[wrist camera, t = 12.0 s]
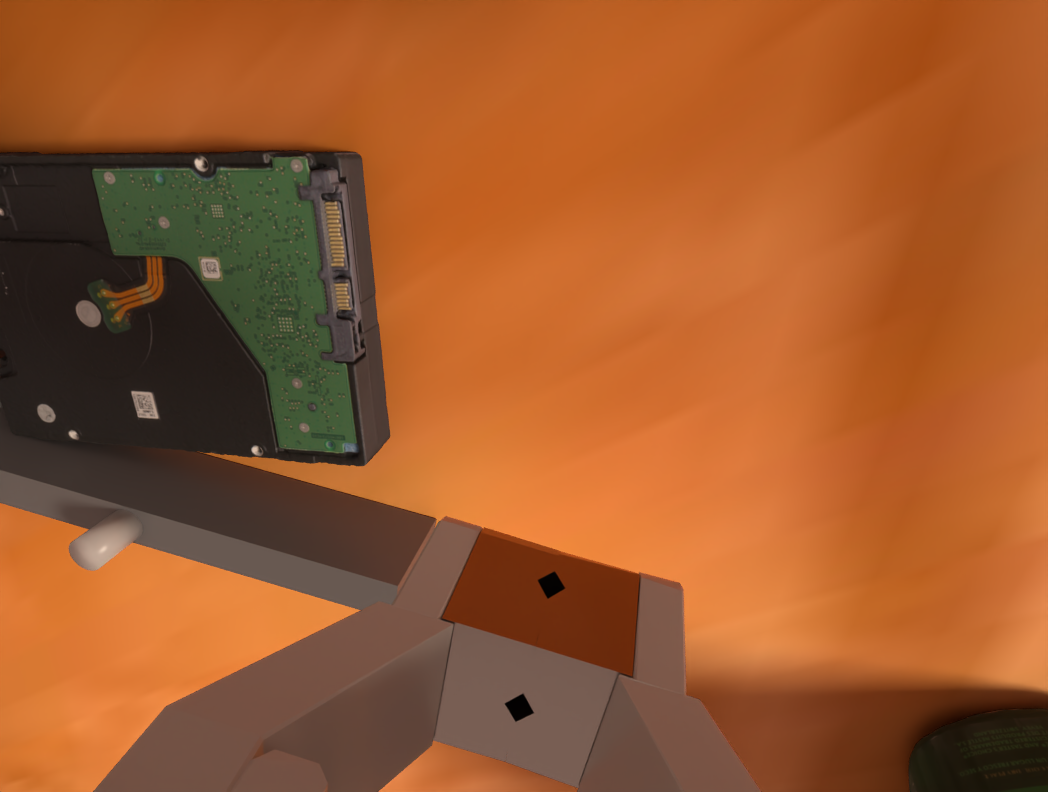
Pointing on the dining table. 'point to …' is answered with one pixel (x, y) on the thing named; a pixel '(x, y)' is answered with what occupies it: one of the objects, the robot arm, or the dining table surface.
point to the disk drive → (192, 303)
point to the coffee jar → (984, 754)
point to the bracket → (214, 516)
